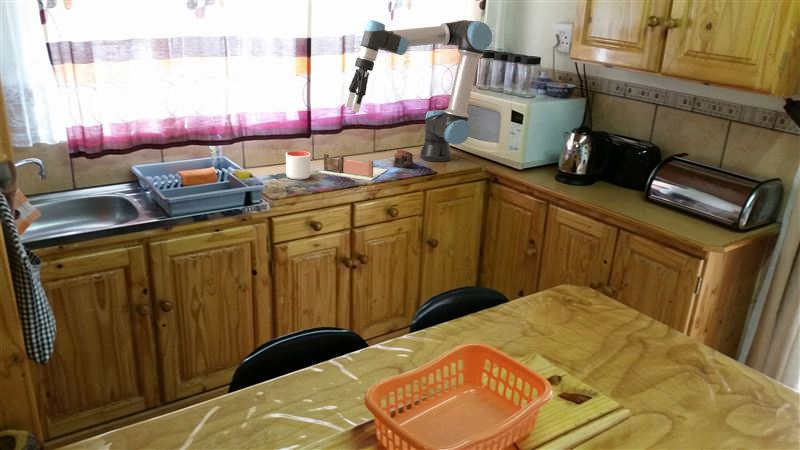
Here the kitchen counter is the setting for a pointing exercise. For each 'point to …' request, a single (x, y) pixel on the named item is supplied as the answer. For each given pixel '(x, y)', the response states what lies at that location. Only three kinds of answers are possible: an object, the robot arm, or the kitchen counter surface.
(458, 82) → the robot arm
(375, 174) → the card
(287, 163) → the cup
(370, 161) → the fence panel
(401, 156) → the brown rock
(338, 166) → the fence fixed
